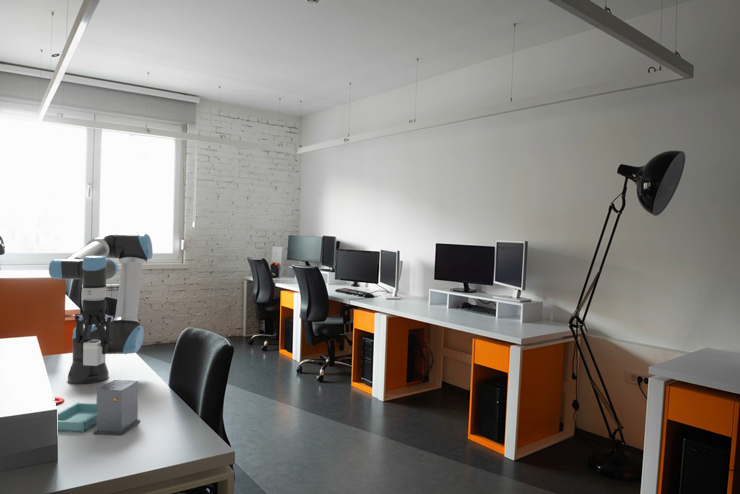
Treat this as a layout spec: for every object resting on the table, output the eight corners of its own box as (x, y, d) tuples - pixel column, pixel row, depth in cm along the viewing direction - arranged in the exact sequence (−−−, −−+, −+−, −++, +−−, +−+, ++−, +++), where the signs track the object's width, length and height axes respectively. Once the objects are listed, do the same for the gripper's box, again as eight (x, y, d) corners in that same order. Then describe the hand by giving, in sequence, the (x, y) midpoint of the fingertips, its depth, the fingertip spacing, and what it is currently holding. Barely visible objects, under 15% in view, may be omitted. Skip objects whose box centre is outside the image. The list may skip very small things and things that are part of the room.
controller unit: (113, 420, 172) (113, 379, 171) (140, 421, 171) (140, 380, 171) (93, 434, 160) (93, 389, 160) (122, 435, 160) (122, 390, 159)
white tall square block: (91, 361, 189) (91, 338, 189) (104, 362, 189) (105, 339, 188) (82, 365, 184) (83, 341, 183) (96, 365, 184) (97, 342, 183)
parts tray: (77, 411, 179) (77, 402, 179) (113, 412, 179) (113, 404, 179) (43, 430, 162) (43, 421, 162) (83, 432, 162) (83, 422, 161)
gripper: (63, 299, 182) (63, 364, 183) (113, 301, 181) (113, 366, 182) (76, 296, 189) (76, 358, 191) (124, 298, 189) (124, 360, 190)
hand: (94, 362), depth 186 cm, fingers closed on white tall square block, 5 cm apart
